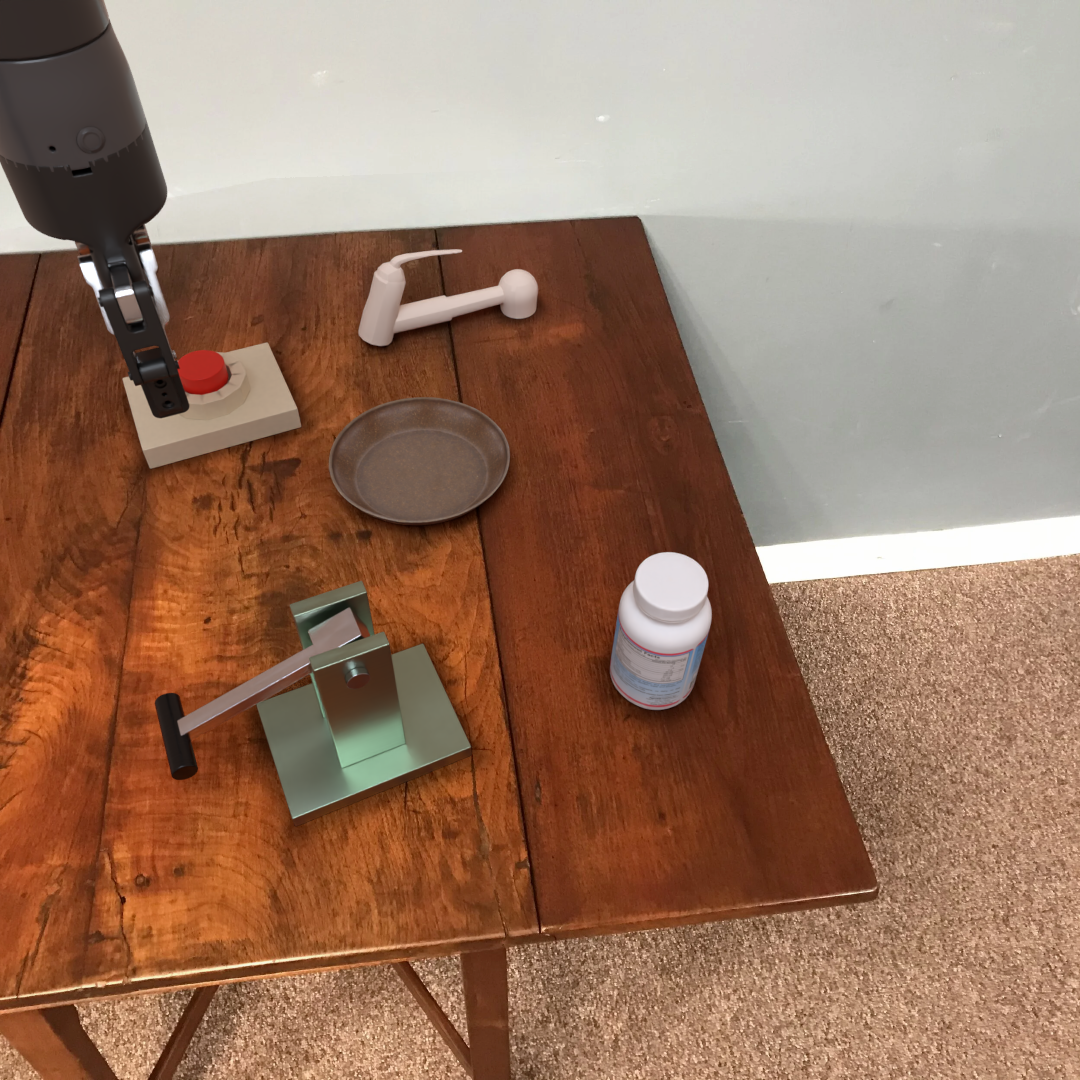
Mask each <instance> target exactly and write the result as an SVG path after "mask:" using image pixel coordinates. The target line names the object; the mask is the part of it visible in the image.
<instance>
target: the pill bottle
mask: <svg viewBox="0 0 1080 1080" xmlns="http://www.w3.org/2000/svg"><path fill="white" fill-rule="evenodd" d="M708 591H709V578H708V575H707V573H706V571H705V569H704V568H703V567H702V565H701V564H700V563H699V562H698V561H696V560H695V559H693V558H692V557H690V556H687V555H686V554H682V553H680V552H679V553H678V552H674V551H673V552H672V551H665V552H658V553H655V554H652V555H649V556H648V557H647V558H645V559H643V561H642V562H641V563H640V564H639V566H638V567H637V569H636V572H635V574H634V580H632V581H631V582H630V583H629V584H628V585H627V587H625V589H624V590H623V592H622V594H621V597H620V601H619V604H618V609H617V617H616V623H615V629H614V635H613V636H614V637H613V641H612V642H613V643H612V650H611V656H610V664H609V674H610V678H611V681H612V684H613V685H614V688H615V690H617V691H618V693H619V694H620V695H621V696H622V697H623V698H625V699H626V700H627V701H628V702H630V703H631V704H633V705H635V706H637V707H640V708H642V709H646V710H650V711H651V710H652V711H661V710H668V709H670V708H674V707H676V706H678V705H679V704H681V703H683V702H684V701H685V700H686V699H687V698H688V696H690V694H691V692H692V690H693V688H694V687H695V683H696V680H697V677H698V676H697V675H698V672H699V669H700V666H701V662H702V658H703V654H704V651H705V647H706V644H707V640H708V637H709V633H710V629H711V624H712V619H713V618H712V617H713V614H712V613H713V612H712V611H713V610H712V606H711V601H710V600H709V597H708Z"/></svg>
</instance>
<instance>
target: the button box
mask: <svg viewBox="0 0 1080 1080" xmlns="http://www.w3.org/2000/svg"><path fill="white" fill-rule="evenodd" d="M216 352H217V353H218V354H220V355H221V356H222V357H223V359H224V362H225V365H226V369H227V372H228V381H227V383H226V385H225V386H224V387H222V388H221V389H219V390H218V391H216V392H212V393H208V394H204V395H196V394H190V393H187V392H186V391H185V393H186V396H187V399H188V402H189V409H188V410H187V411H186V412H184V413H180V414H177V415H173V416H169V417H165V418H156V417H154V416H153V414H152V412H151V409H150V407H149V404H148V402H147V399H146V397H145V394H144V392H143V389H142V387H141V385H138V386H135V384H134V382H133V380H132V381H131V380H130V378H129V376H125V377H122V379H121V380H122V383H123V387H124V390H125V393H126V396H127V400H128V404H129V408H130V411H131V416H132V419H133V422H134V425H135V429H136V432H137V436H138V439H139V443H140V446H141V451H142V453H143V455H144V458H145V460H146V463H147V466H148V468H149V469H155V468H159V467H163V466H166V465H170V464H173V463H177V462H180V461H185V460H187V459H191V458H195V457H198V456H202V455H206V454H209V453H213V452H216V451H220V450H221V451H222V450H225V449H227V448H232V447H235V446H239V445H242V444H245V443H249V442H253V441H256V440H260V439H263V438H267V437H271V436H274V435H279V434H282V433H285V432H289V431H292V430H296V429H299V428H302V423H301V417H300V413H299V408H298V407H297V404H296V402H295V400H294V397H293V395H292V393H291V391H290V389H289V386H288V384H287V381H286V380H285V377H284V376H283V373H282V371H281V368H280V366H279V364H278V361H277V360H276V357H275V356H274V353H273V351H272V349H271V346H270V344H269V342H262V343H259V344H254V345H251V346H247V347H243V348H239V349H234V350H230V351H226V352H222V351H221V352H220V351H216ZM179 360H180V359H177V361H179Z"/></svg>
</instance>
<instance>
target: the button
mask: <svg viewBox="0 0 1080 1080" xmlns="http://www.w3.org/2000/svg"><path fill="white" fill-rule="evenodd" d="M217 352H218V351H214V350H209V349H199V350H194V351H191V352H188V353H186V354H184V355H183V356H181V357H180V358H179V359H178V360H179V361H178V360H177V361H178V364H179V367H180V369H178V373H179V376H180V379H181V382H182V385H183V388H184V390H185V391H186V392H187V393H190V394H196V395H204V394H208V393H212V392H216V391H218V390H219V389H221V388H222V387H224V386H225V385H226V383H227V381H228V372H227V369H226V365H225V362H224V359H223V357H222V356H221V355H220V354H218V353H217Z"/></svg>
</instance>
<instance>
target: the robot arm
mask: <svg viewBox="0 0 1080 1080" xmlns="http://www.w3.org/2000/svg"><path fill="white" fill-rule="evenodd" d="M138 91H139V90H138V88H137V85H136V81H135V78H134V75H133V73H132V70H131V67H130V64H129V62H128V59H127V57H126V54H125V52H124V49H123V47H122V46H121V44H120V41H119V39H118V37H117V34H116V32H115V30H114V27H113V24H112V22H111V18H110V16H109V12H108V9H107V6H106V3H105V0H0V165H1V168H2V170H3V172H4V174H5V177H6V180H7V182H8V183H9V186H10V188H11V190H12V193H13V195H14V197H15V200H16V201H17V203H18V206H19V208H20V211H21V213H22V215H23V217H24V219H25V220H26V222H27V223H28V224H29V225H30V226H31V228H33V229H34V230H36V231H37V232H39V233H41V234H43V235H44V236H47V237H50V238H53V239H57V240H62V241H71V242H74V244H75V247H76V249H77V251H78V254H79V255H78V256H76V257H77V261H78V264H79V267H80V271H81V273H82V275H83V279H84V281H85V283H86V284H87V285H88V286H90V287H91V288H92V289H93V292H94V295H95V298H96V301H97V304H98V307H99V309H100V312H101V315H102V318H103V321H104V324H105V326H106V329H107V331H108V332H109V333H110V334H111V335H113V336H114V337H115V339H116V342H117V344H118V346H119V350H120V352H121V355H122V357H123V360H124V362H125V364H126V367H127V370H128V371H127V375H128V377H129V378H130V380H131V381H132V380H133V382H134V384H135V386H138V385H141V387H142V389H143V392H144V394H145V397H146V399H147V402H148V404H149V407H150V409H151V412H152V414H153V416H154V417H156V418H165V417H169V416H173V415H177V414H180V413H184V412H186V411H187V410H188V409H189V402H188V399H187V396H186V393H185V390H184V388H183V385H182V382H181V379H180V376H179V373H178V369H180V367H179V364H178V356H177V354H176V351H175V349H172V346H171V343H170V341H169V340H170V339H169V337H168V333H167V331H166V326H167V325H168V324H169V323H170V320H171V315H170V312H169V309H168V306H167V303H166V300H165V296H164V294H163V291H162V288H161V285H160V281H159V279H158V273H159V265H158V261H157V259H156V256H155V252H154V250H153V246H152V242H151V239H150V236H149V233H148V229H147V227H146V224H148V223H150V221H152V220H153V219H154V218H156V216H158V215H159V213H160V212H162V209H163V208H164V206H165V204H166V202H167V199H168V186H167V182H166V179H165V175H164V173H163V169H162V166H161V162H160V159H159V156H158V153H157V149H156V145H155V143H154V140H153V136H152V133H151V130H150V127H149V124H148V120H147V117H146V114H145V111H144V107H143V104H142V101H141V98H140V94H139V92H138ZM151 347H155V348H151ZM146 348H150V349H146ZM141 349H142V350H143V349H146V350H143V351H142V350H141ZM139 350H141V351H139ZM136 351H137V352H136Z"/></svg>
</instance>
